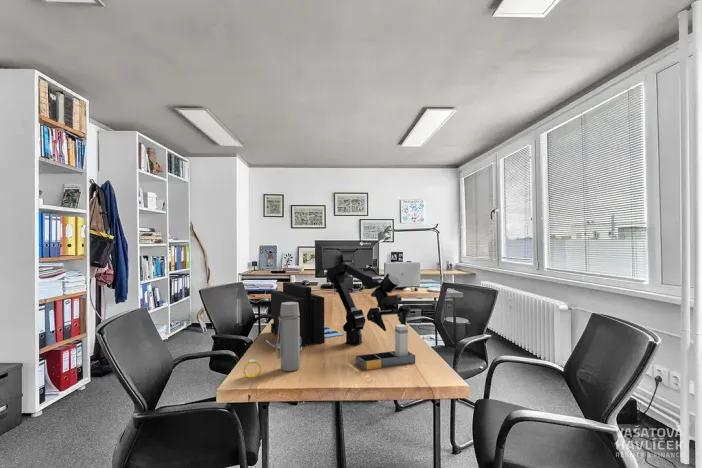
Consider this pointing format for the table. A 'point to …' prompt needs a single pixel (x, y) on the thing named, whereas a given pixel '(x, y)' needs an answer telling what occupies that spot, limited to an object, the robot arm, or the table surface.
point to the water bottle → (289, 336)
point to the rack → (383, 360)
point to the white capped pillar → (401, 340)
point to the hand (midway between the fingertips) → (395, 329)
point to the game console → (302, 313)
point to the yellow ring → (252, 363)
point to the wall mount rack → (279, 344)
